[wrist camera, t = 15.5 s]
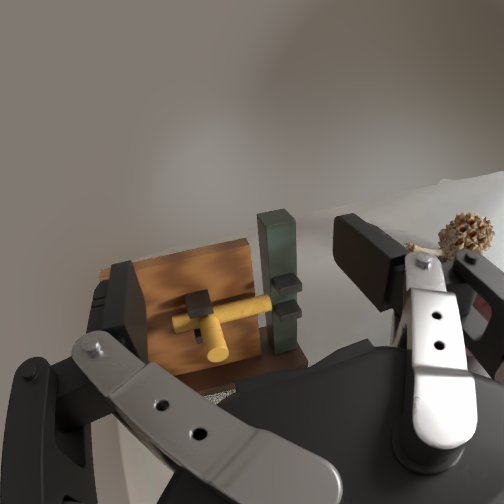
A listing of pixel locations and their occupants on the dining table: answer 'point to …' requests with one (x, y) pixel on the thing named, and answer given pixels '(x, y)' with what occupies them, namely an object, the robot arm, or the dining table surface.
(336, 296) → the dining table surface
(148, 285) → the door
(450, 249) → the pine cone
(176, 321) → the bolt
